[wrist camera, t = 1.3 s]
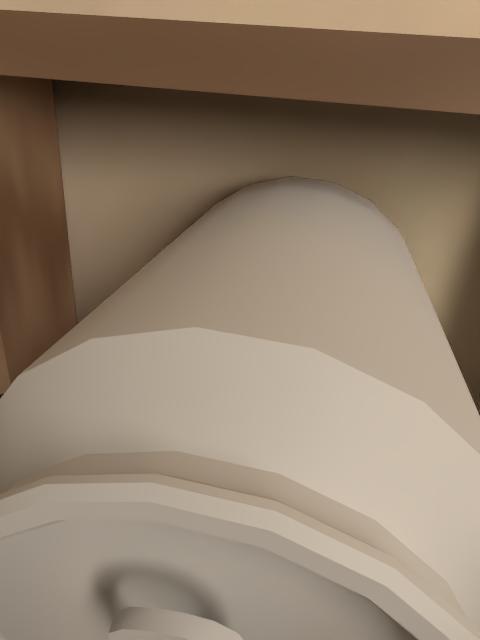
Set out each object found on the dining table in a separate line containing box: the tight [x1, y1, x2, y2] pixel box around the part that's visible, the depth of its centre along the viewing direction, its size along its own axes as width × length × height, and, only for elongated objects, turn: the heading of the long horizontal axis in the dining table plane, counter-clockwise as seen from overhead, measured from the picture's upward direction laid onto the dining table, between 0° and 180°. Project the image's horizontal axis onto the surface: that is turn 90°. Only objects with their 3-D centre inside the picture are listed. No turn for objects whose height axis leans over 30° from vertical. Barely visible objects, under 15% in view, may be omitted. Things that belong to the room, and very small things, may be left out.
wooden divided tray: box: [0, 10, 480, 395], centre depth 16 cm, size 25×18×4 cm
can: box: [0, 176, 480, 640], centre depth 10 cm, size 8×8×12 cm
